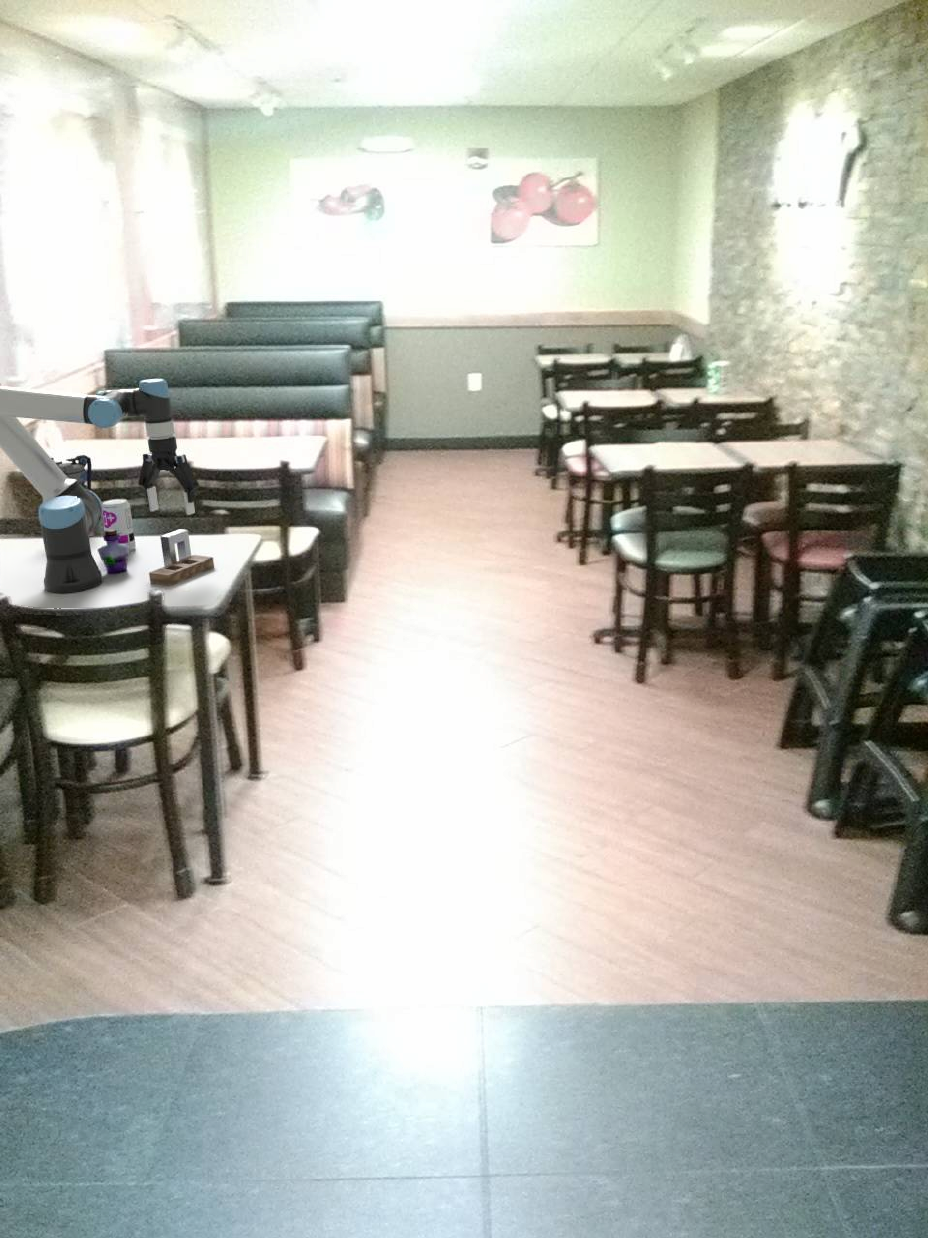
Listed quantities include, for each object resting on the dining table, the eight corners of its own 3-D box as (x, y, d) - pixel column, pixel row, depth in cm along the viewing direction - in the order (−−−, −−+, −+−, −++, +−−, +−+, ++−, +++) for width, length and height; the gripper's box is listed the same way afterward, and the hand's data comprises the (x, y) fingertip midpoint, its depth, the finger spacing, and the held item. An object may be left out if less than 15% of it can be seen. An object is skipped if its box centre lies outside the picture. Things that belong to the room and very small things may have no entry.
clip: (172, 569, 323) (168, 537, 320) (164, 568, 324) (160, 536, 321) (192, 562, 330) (187, 529, 326) (184, 560, 331) (179, 529, 328)
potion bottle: (100, 577, 319) (94, 535, 315) (101, 569, 327) (94, 528, 323) (132, 573, 321) (126, 532, 317) (132, 565, 329) (126, 524, 325)
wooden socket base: (169, 586, 309) (168, 575, 308) (150, 583, 312) (148, 572, 311) (214, 567, 323) (213, 557, 322) (195, 564, 326) (194, 554, 326)
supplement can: (119, 555, 340) (111, 506, 335) (102, 551, 345) (94, 503, 340) (141, 548, 346) (134, 500, 341) (124, 545, 351) (117, 497, 346)
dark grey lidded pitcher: (106, 531, 368) (94, 454, 359) (66, 539, 360) (52, 460, 352) (95, 525, 375) (83, 449, 367) (55, 533, 368) (41, 456, 360)
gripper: (205, 435, 312) (215, 511, 319) (137, 432, 324) (149, 505, 331) (186, 441, 306) (197, 518, 313) (118, 437, 318) (130, 512, 325)
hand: (172, 512), depth 322 cm, fingers open, 13 cm apart
